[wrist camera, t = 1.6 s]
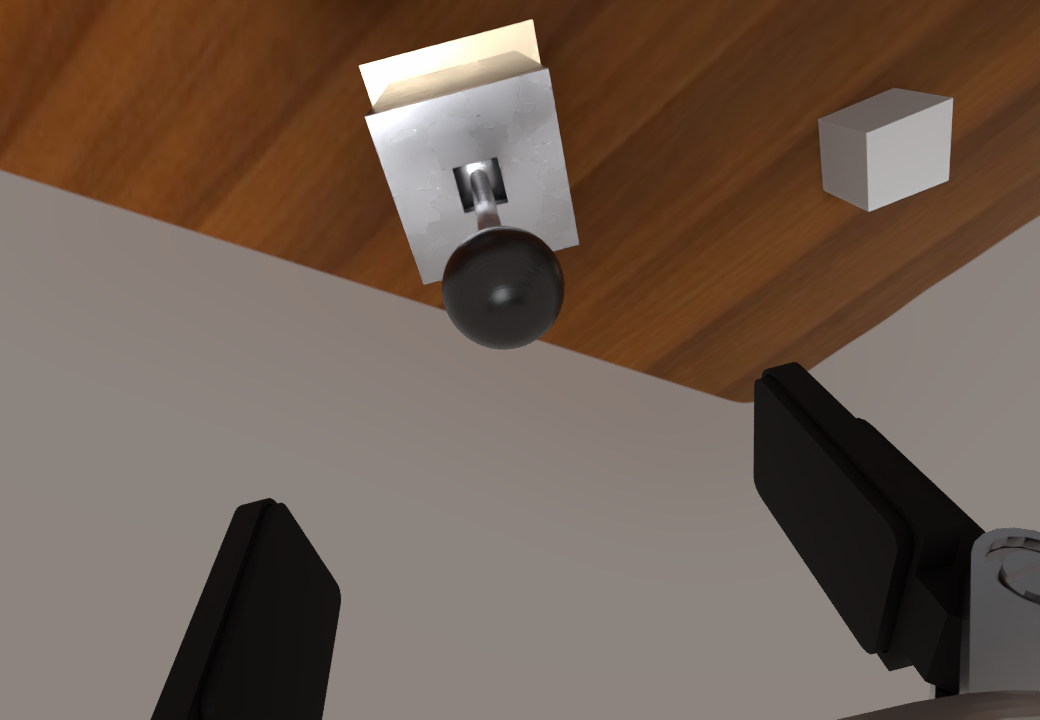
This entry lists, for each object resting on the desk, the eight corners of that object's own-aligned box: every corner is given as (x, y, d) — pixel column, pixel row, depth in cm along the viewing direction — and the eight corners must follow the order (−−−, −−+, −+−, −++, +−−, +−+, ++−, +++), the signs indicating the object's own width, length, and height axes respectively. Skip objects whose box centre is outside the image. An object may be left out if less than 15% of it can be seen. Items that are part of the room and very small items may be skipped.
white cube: (893, 161, 46) (949, 180, 41) (822, 190, 47) (868, 212, 42) (893, 86, 43) (953, 97, 38) (817, 118, 44) (866, 133, 38)
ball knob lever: (522, 98, 29) (599, 183, 15) (546, 216, 32) (626, 376, 18) (402, 130, 29) (366, 244, 15) (439, 244, 32) (438, 423, 18)
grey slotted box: (531, 19, 38) (574, 24, 26) (565, 209, 45) (611, 283, 33) (360, 64, 38) (321, 91, 26) (421, 247, 45) (414, 334, 33)
